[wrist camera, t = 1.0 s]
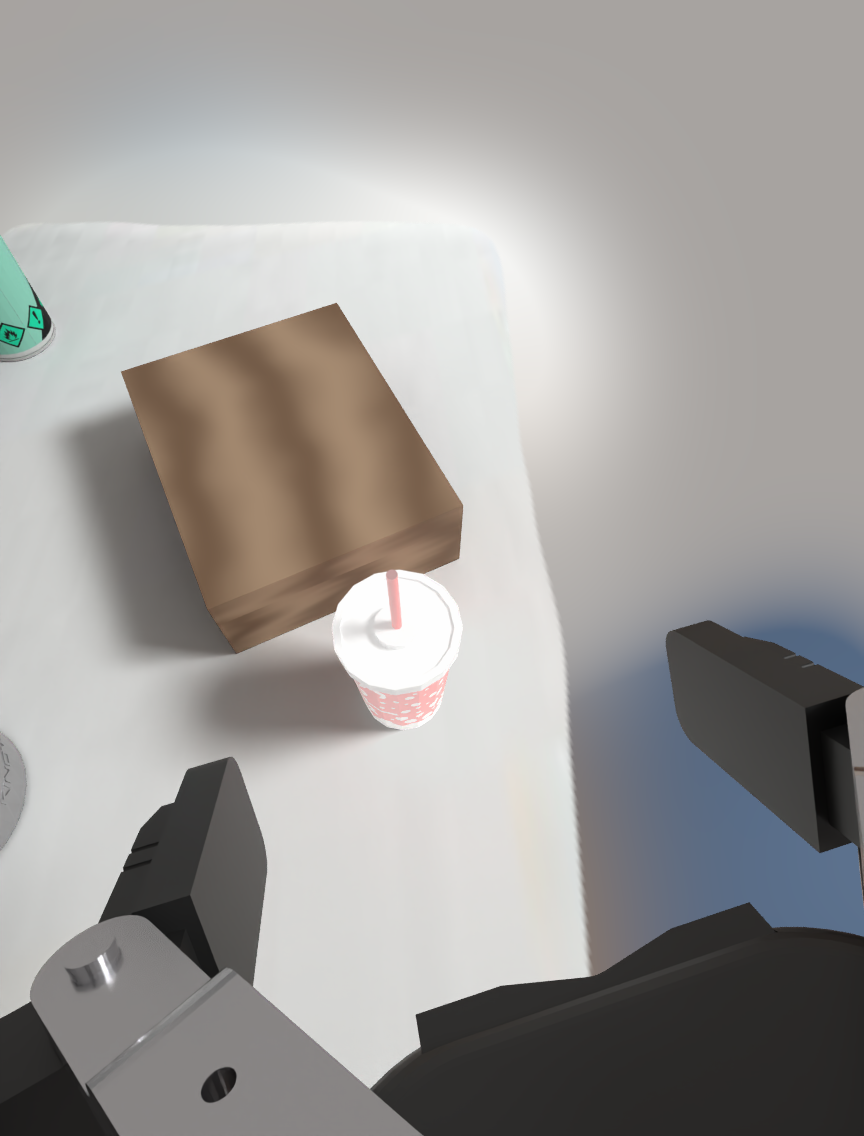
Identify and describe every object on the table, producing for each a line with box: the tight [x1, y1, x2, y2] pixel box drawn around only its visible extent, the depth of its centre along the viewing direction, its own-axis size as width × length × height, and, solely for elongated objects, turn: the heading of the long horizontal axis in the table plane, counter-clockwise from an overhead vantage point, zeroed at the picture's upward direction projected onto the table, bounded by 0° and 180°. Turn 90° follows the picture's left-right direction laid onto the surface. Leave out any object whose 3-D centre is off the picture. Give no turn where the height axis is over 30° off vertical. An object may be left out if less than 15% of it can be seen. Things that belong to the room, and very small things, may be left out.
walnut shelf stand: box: [121, 303, 463, 654], centre depth 43 cm, size 15×19×6 cm
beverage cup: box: [331, 570, 463, 730], centre depth 33 cm, size 6×6×14 cm
